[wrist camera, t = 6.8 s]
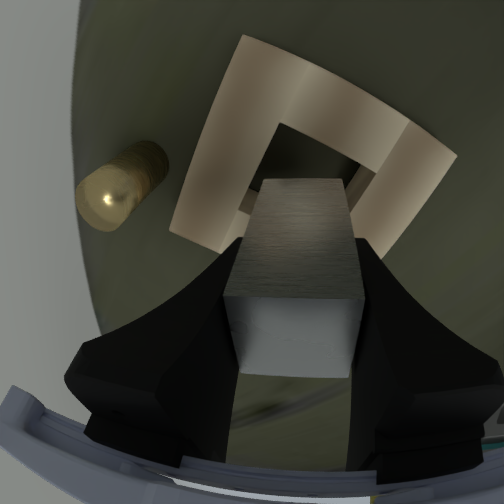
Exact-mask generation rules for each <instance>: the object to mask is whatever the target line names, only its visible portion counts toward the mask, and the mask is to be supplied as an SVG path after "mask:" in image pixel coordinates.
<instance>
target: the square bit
mask: <svg viewBox="0 0 504 504" xmlns="http://www.w3.org/2000/svg"><path fill="white" fill-rule="evenodd" d="M223 299H224V303H225V308H226V312H227V317H228V321H229V326H230V330H231V335H232V339H233V343H234V348H235V352H236V356H237V361H238V365H239V369H240V373H247V374H260V375H274V376H292V377H322V378H348V376H349V372H350V368H351V364H352V360H353V355H354V351H355V347H356V342H357V338H358V333H359V328H360V323H361V318H362V313H363V308H364V303H365V295H364V288H363V282H362V276H361V270H360V264H359V258H358V252H357V247H356V242H355V237H354V232H353V227H352V222H351V217H350V212H349V208H348V203H347V199H346V194H345V190H344V186H343V181H342V179H335V178H287V179H264V180H263V183H262V186H261V189H260V191H259V194H258V197H257V200H256V202H255V205H254V208H253V211H252V214H251V217H250V219H249V222H248V225H247V228H246V231H245V233H244V236H243V239H242V242H241V245H240V248H239V250H238V253H237V256H236V259H235V262H234V265H233V267H232V270H231V273H230V276H229V279H228V282H227V285H226V288H225V290H224V293H223Z"/></svg>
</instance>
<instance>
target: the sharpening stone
mask: <svg viewBox="0 0 504 504" xmlns="http://www.w3.org/2000/svg"><path fill="white" fill-rule="evenodd" d="M484 430H485V436H484V437H483V438H481V444H482V451H483V453H484V452H488V451H491V450H495V449H498V448H502V447H504V403H503V404H502V405H501V407H500V408H499V409H498V410H497V411H496V412H495V413H494V414H493V415H492V416H491V417H490V418H489V419H488V420H487V421H486V422H485V423H484Z"/></svg>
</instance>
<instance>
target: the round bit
mask: <svg viewBox="0 0 504 504" xmlns="http://www.w3.org/2000/svg"><path fill="white" fill-rule="evenodd" d="M168 170H169V161H168V157H167V155H166V153H165V152H164V150H163V149H162V148H161V147H160V146H159V145H157V144H156V143H153V142H150V141H141V142H138V143H136V144H134V145H133V146H131V147H130V148H128V149H127V150H125V151H124V152H122V153H121V154H119V155H118V156H116V157H115V158H113V159H112V160H110V161H109V162H107V163H106V164H105V165H103V166H102V167H100V168H99V169H97V170H96V171H95V172H93V173H92V174H91V175H89V176H88V177H86V178H85V179H84V180H82V181H81V182H80V183H79V185H78V187H77V189H76V194H75V199H76V205H77V208H78V210H79V212H80V214H81V216H82V217H83V218H84V220H85V221H86V222H87V223H88V224H90V225H91V226H92V227H94V228H96V229H98V230H101V231H113V230H115V229H117V228H118V227H119V226H120V225H121V224H122V223H123V222H124V221H125V219H126V218H127V217H128V216H129V215H130V214H131V213H132V212H133V211H134V210H135V209H136V208H137V207H138V205H139V204H140V203H141V202H142V201H143V200H144V199H145V198H146V197H147V196H148V195H149V194H150V193H151V192H152V191H153V190H154V189H155V188H156V187H157V186H158V185H159V184H160V183H161V182H162V181H163V180H164V179H165V177H166V176H167V174H168Z"/></svg>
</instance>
